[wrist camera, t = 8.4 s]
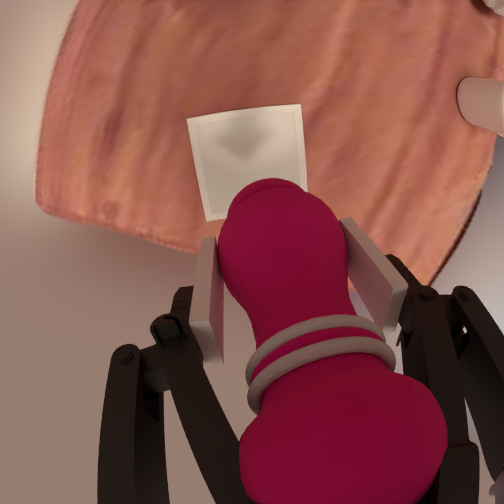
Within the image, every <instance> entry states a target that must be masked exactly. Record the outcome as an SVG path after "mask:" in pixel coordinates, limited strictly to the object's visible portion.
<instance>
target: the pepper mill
mask: <svg viewBox="0 0 504 504" xmlns="http://www.w3.org/2000/svg"><path fill="white" fill-rule="evenodd" d="M218 261H219V268H220V273H221V275H222V277H223V280H224V282H225V284H226V286H227V288H228V290H229V292H230V293H231V295H232V296H233V297H234V298H235V299H236V300H237V302H238V303H239V304H240V305H241V306H242V307H243V308H244V310H245V311H246V312H247V314H248V316H249V318H250V321H251V324H252V328H253V332H254V336H255V340H256V351H255V352H254V354H253V355H252V356H251V358H250V360H249V362H248V364H247V367H246V381H247V384H248V386H249V390H248V395H247V399H248V404H249V406H250V408H251V410H252V411H253V412H254V413H255V414H257V417H256V418H255V419H254V420H253V421H252V422H251V424H250V425H249V426H248V427H247V428H246V430H245V432H244V433H243V434H242V436H241V438H240V441H239V444H240V446H239V464H240V474H241V480H242V482H243V485H244V487H245V490H246V492H247V494H248V496H249V497H250V499H251V500H253V501H254V502H256V503H259V504H415V503H416V502H417V501H419V500H420V499H421V498H422V497H423V496H424V495H425V494H426V492H427V491H428V490H429V489H430V488H431V485H432V484H433V482H434V480H435V478H436V475H437V472H438V470H439V467H440V464H441V462H442V459H443V456H444V453H445V451H446V449H447V445H448V431H447V426H446V421H445V418H444V415H443V413H442V411H441V408H440V406H439V404H438V402H437V401H436V399H435V398H434V396H433V394H432V393H431V391H430V390H429V389H428V388H427V387H426V386H425V385H424V384H422V383H421V382H419V381H417V380H415V379H414V378H412V377H410V376H406V375H402V374H398V373H395V372H394V370H395V365H396V359H395V354H394V352H393V351H392V349H391V348H390V347H389V345H387V344H386V340H385V336H384V333H383V331H382V330H381V329H380V328H379V326H378V325H377V324H376V323H374V322H372V321H371V320H369V319H366V318H363V317H360V316H358V315H357V314H356V312H355V310H354V307H353V305H352V303H351V300H350V298H349V292H348V249H347V244H346V240H345V236H344V232H343V230H342V227H341V225H340V223H339V222H338V220H337V218H336V216H335V215H334V213H333V212H332V211H331V209H330V208H329V207H328V206H327V205H326V204H325V203H324V202H323V201H322V200H321V199H319V198H317V197H316V196H314V195H312V194H310V193H308V192H306V191H304V190H303V189H302V188H301V187H300V186H298V185H297V184H295V183H293V182H291V181H289V180H285V179H281V178H267V179H261V180H257V181H255V182H252V183H251V184H249V185H247V186H245V187H244V188H243V189H242V190H241V191H240V192H239V193H238V194H237V195H236V196H235V197H234V199H233V200H232V202H231V204H230V207H229V209H228V213H227V219H226V220H225V222H224V224H223V226H222V228H221V231H220V235H219V238H218Z"/></svg>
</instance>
